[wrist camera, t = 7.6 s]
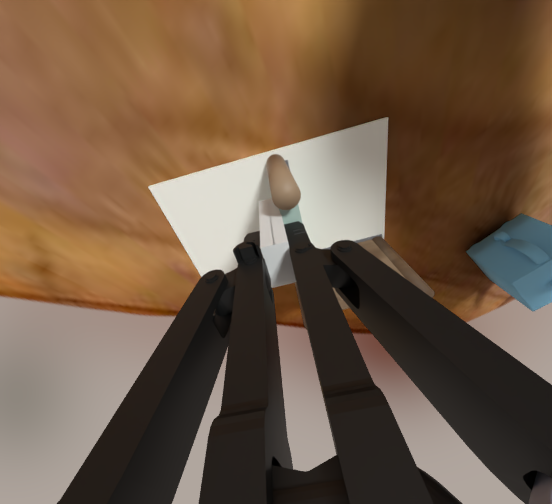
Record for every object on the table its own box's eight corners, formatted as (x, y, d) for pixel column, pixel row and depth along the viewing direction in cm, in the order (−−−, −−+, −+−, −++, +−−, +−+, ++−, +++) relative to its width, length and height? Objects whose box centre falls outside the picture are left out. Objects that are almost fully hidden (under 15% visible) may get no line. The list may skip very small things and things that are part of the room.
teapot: (540, 256, 28) (620, 299, 22) (492, 285, 30) (552, 331, 24) (507, 201, 23) (599, 236, 17) (453, 240, 26) (517, 283, 19)
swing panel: (305, 249, 24) (324, 304, 17) (291, 252, 24) (304, 309, 17) (282, 151, 18) (297, 177, 11) (263, 157, 18) (268, 186, 12)
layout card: (385, 117, 18) (389, 117, 18) (381, 259, 26) (383, 261, 26) (150, 185, 20) (147, 187, 19) (216, 299, 28) (215, 302, 27)
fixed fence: (383, 231, 24) (438, 285, 16) (382, 249, 25) (433, 306, 18) (288, 255, 24) (301, 316, 17) (292, 271, 26) (306, 334, 19)
